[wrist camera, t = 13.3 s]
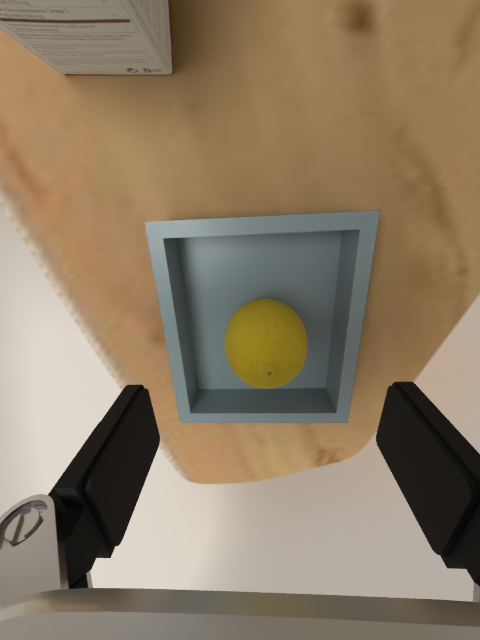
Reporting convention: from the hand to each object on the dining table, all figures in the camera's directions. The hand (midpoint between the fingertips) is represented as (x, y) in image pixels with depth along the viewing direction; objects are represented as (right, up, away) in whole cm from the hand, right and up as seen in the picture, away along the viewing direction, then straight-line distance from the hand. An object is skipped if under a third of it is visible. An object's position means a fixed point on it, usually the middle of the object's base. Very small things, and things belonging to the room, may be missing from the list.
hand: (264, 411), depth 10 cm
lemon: (+1, +4, +11) cm, 12 cm away
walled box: (+1, +4, +12) cm, 12 cm away
